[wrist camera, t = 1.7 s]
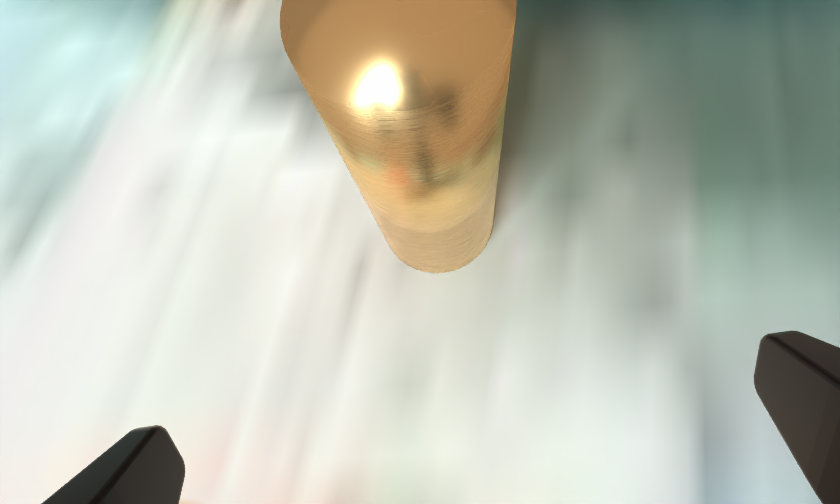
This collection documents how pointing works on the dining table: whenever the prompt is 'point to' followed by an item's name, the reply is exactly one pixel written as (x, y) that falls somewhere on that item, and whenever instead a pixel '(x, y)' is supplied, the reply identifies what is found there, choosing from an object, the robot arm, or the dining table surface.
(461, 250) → the brass roller
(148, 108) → the dining table surface
